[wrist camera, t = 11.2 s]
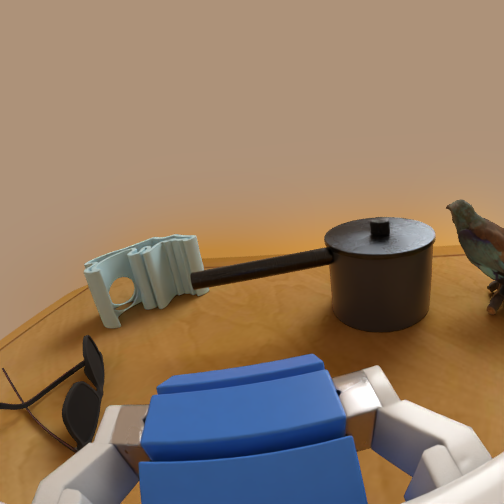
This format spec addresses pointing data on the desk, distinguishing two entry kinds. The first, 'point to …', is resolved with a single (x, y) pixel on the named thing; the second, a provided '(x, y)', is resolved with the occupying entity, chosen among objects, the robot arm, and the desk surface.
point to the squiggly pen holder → (145, 274)
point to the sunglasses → (76, 398)
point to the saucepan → (358, 271)
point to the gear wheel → (250, 438)
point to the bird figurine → (481, 247)
